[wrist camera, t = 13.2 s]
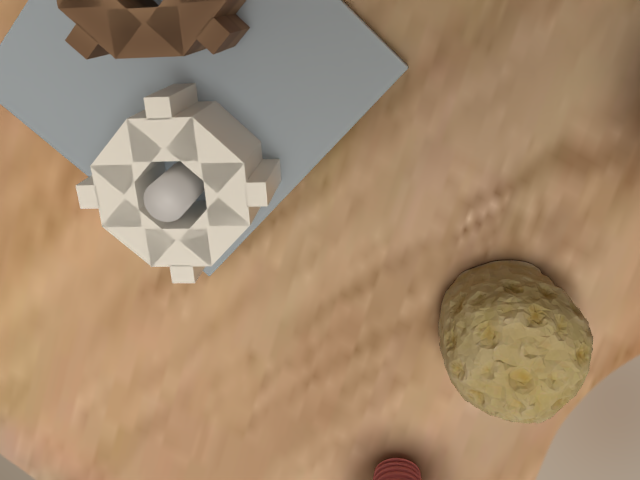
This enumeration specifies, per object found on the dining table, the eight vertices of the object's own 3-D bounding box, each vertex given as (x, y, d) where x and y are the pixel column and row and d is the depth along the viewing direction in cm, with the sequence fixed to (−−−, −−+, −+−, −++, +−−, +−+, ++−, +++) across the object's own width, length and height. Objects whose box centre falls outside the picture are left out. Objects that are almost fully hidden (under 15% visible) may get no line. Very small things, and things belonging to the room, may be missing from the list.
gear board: (159, -183, 33) (98, -229, 26) (407, 65, 36) (413, 82, 29) (-10, 80, 39) (-94, 99, 32) (215, 267, 43) (183, 320, 36)
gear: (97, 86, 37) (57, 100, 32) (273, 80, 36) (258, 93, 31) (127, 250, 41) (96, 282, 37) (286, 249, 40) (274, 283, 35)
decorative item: (431, 271, 45) (391, 391, 40) (511, 216, 37) (473, 358, 32) (533, 329, 47) (507, 453, 42) (633, 289, 38) (616, 437, 33)
